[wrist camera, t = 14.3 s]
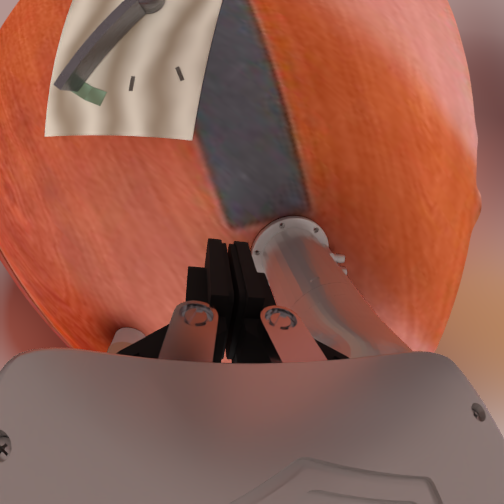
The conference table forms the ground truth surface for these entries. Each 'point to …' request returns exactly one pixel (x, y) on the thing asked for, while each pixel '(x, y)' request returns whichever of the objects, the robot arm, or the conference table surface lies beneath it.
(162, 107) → the dial plate
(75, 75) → the pointer lever
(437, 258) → the conference table surface
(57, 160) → the conference table surface
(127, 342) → the coffee cup
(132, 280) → the conference table surface
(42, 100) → the conference table surface
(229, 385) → the robot arm
